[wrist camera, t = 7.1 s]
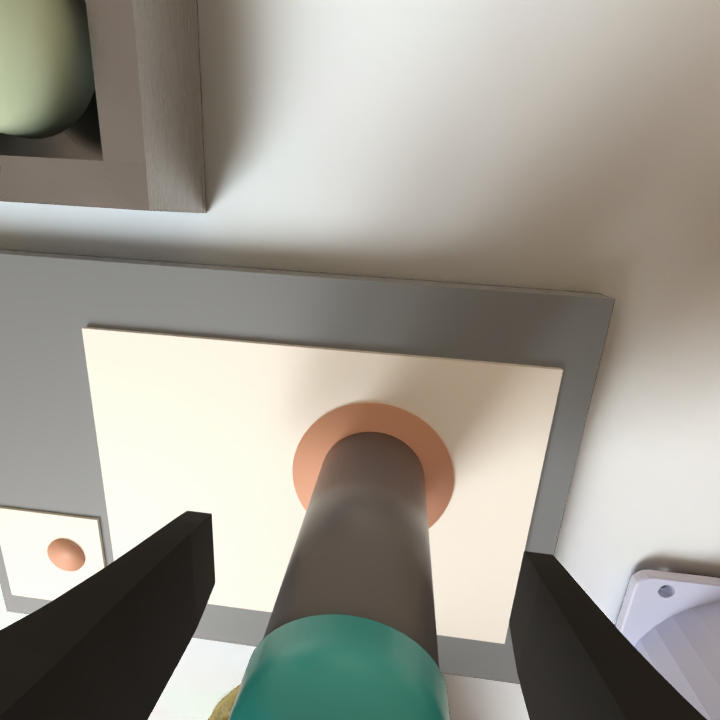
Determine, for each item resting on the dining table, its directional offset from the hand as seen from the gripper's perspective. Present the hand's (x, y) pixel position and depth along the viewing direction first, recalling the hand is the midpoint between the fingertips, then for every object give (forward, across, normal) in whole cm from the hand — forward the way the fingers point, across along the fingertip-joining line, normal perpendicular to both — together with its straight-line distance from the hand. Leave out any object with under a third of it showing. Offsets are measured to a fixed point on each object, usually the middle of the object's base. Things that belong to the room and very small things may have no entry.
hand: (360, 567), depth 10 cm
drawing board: (+5, +4, +1) cm, 6 cm away
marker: (+4, 0, 0) cm, 4 cm away
